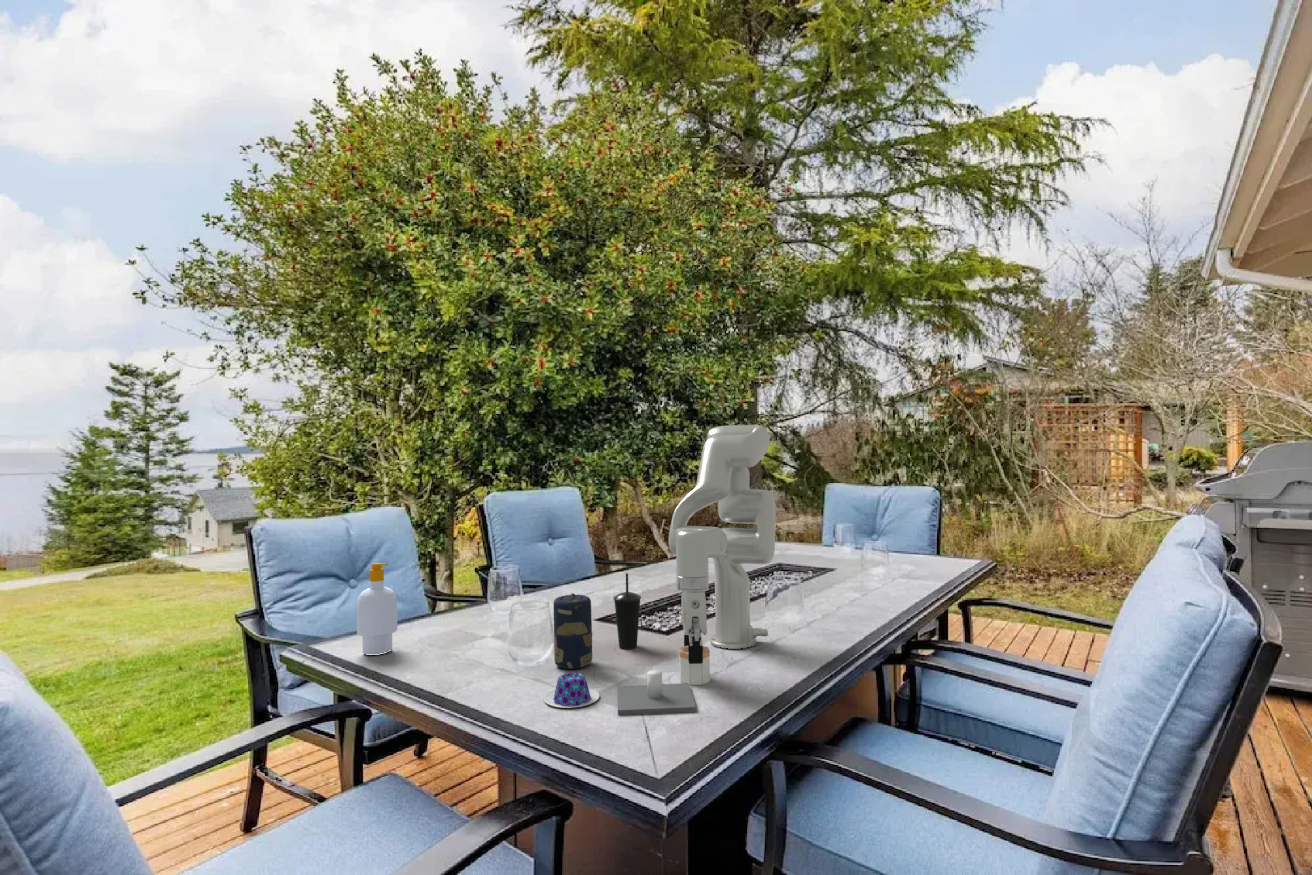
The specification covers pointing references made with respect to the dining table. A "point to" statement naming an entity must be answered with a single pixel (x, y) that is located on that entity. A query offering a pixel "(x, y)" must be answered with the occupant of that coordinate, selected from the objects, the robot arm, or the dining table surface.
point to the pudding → (571, 692)
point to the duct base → (654, 706)
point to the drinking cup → (627, 617)
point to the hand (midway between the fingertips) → (693, 657)
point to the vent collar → (694, 668)
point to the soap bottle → (377, 613)
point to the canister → (572, 631)
